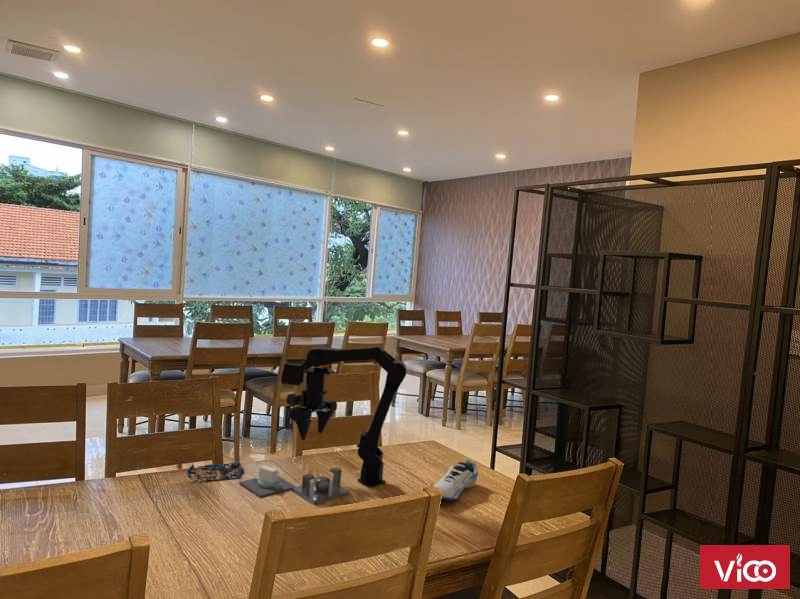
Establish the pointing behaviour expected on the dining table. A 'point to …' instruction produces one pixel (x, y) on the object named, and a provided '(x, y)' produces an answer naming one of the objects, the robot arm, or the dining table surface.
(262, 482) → the cap
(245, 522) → the dining table surface
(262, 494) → the mat
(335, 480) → the grey plate with upright
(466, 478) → the running shoe
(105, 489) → the dining table surface
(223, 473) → the dark blue patterned slab
